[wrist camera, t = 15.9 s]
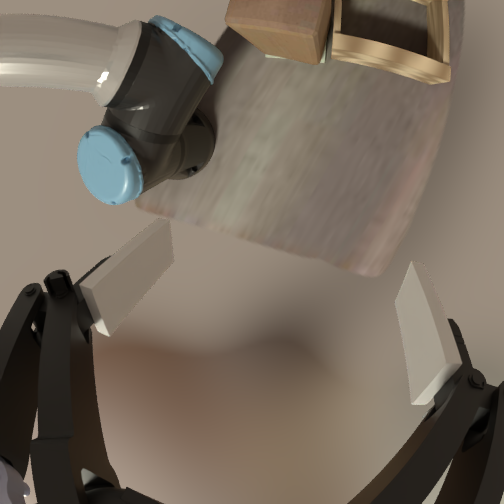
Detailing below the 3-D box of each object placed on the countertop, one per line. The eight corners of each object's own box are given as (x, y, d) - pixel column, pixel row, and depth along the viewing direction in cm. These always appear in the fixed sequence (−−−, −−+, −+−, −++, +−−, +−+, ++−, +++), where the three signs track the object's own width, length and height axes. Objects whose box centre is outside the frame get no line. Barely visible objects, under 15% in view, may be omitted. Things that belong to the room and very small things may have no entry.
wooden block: (274, 7, 32) (240, -43, 15) (331, 19, 31) (333, -32, 14) (261, 54, 37) (219, 23, 21) (319, 67, 36) (315, 38, 20)
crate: (331, 58, 36) (332, 47, 28) (335, -22, 26) (335, -44, 19) (430, 84, 32) (450, 81, 25) (431, 3, 23) (447, -11, 16)
